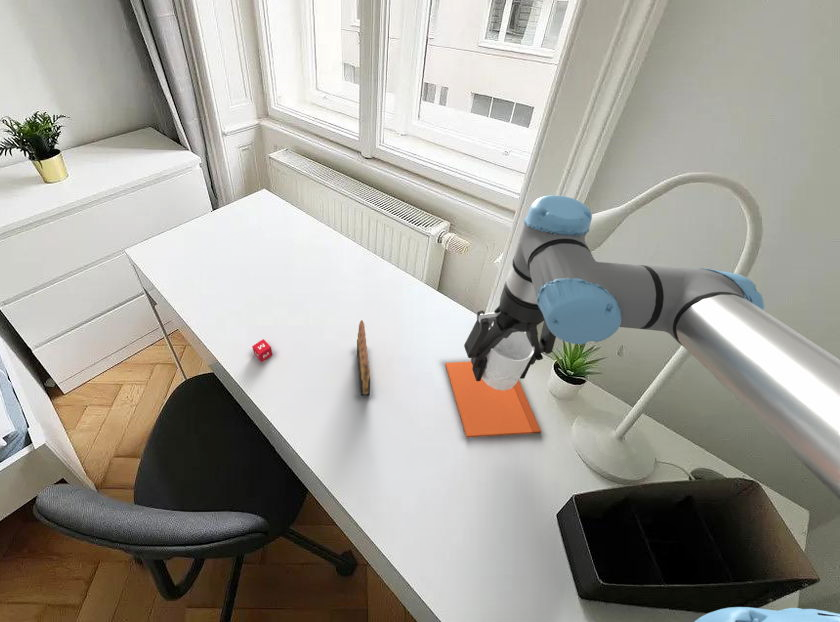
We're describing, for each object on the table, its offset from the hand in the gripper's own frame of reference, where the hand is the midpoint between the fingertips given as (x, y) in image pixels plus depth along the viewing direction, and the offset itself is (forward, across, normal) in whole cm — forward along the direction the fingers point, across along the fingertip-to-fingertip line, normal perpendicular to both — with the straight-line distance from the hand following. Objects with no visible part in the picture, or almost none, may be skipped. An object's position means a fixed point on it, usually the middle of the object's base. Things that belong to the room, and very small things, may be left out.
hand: (497, 373), depth 77 cm
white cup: (0, 0, 0) cm, 1 cm away
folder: (+8, 0, 0) cm, 8 cm away
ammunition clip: (+8, +25, -7) cm, 27 cm away
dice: (+8, +47, -13) cm, 49 cm away
